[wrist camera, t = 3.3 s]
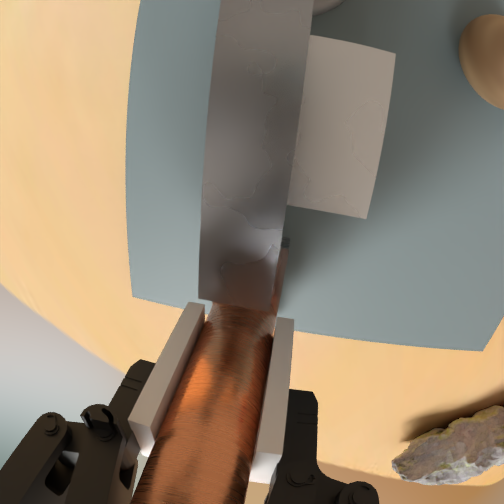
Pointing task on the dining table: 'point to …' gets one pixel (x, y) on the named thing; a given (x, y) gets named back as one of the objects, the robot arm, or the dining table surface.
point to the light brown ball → (484, 57)
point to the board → (325, 223)
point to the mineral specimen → (455, 450)
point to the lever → (261, 223)
